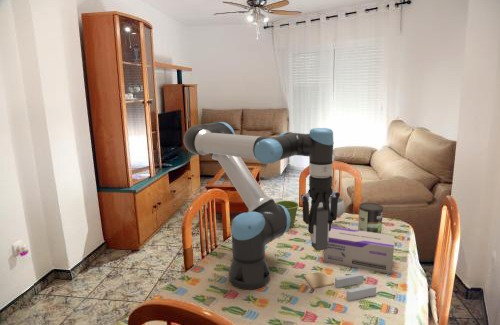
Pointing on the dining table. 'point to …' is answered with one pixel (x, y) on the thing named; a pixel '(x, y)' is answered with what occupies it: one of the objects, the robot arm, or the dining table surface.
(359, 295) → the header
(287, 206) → the plant pot
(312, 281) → the pad
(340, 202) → the chalice
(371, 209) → the coffee can
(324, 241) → the dark grey rectangular block
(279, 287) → the dining table surface
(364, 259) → the surgical sutures box
